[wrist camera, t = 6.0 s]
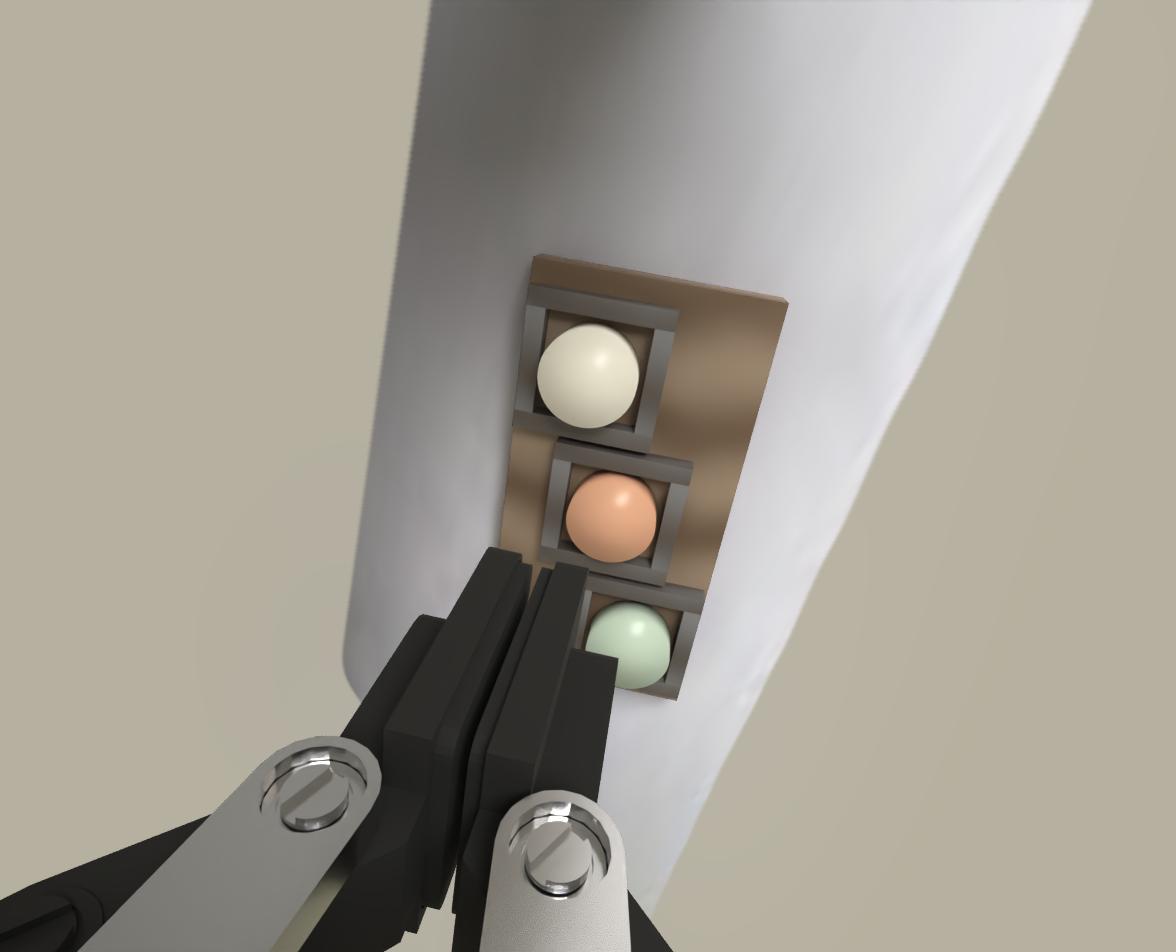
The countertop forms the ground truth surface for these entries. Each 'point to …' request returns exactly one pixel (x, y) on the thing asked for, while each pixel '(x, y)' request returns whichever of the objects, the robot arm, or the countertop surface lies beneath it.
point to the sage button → (632, 642)
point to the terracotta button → (612, 516)
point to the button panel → (642, 434)
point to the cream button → (589, 375)
